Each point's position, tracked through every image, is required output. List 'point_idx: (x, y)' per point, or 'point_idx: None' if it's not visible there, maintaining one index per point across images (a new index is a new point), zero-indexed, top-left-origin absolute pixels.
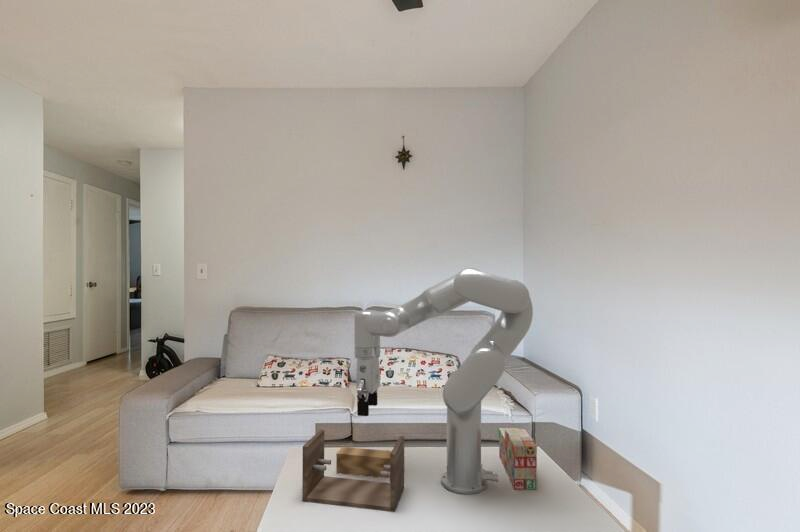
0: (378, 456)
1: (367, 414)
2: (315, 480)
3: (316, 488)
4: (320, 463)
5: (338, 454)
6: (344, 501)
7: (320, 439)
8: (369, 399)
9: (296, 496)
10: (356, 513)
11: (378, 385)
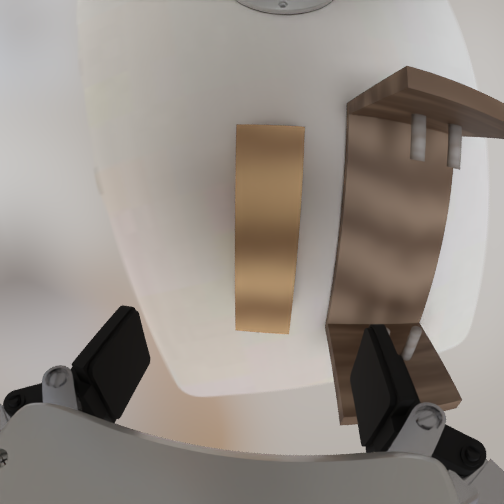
0: (293, 197)
1: (382, 332)
2: None
3: (385, 319)
4: None
5: (289, 327)
6: (440, 244)
7: None
8: (132, 374)
9: None
10: (460, 209)
11: (94, 451)
